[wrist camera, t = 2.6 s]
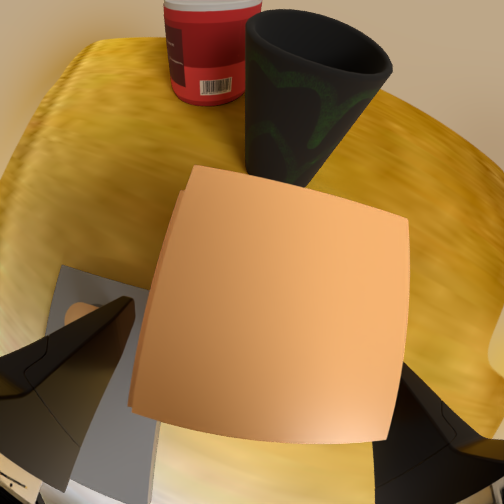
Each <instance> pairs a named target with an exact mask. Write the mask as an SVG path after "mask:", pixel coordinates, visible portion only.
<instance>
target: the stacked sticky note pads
mask: <svg viewBox="0 0 504 504" xmlns="http://www.w3.org/2000/svg"><path fill="white" fill-rule="evenodd" d="M409 283H410V252H409V228H408V219H407V218H404V217H401V216H398V215H395V214H392V213H389V212H386V211H383V210H380V209H377V208H373V207H370V206H367V205H364V204H360V203H357V202H354V201H350V200H347V199H344V198H340V197H336V196H333V195H329V194H326V193H322V192H318V191H314V190H311V189H307V188H303V187H299V186H295V185H291V184H287V183H282V182H278V181H274V180H270V179H265V178H261V177H256V176H251V175H247V174H242V173H237V172H232V171H227V170H221V169H216V168H211V167H205V166H199V165H194V167H193V169H192V172H191V175H190V178H189V180H188V183H187V186H186V189H185V191H184V190H180V193H179V195H178V198H177V201H176V204H175V207H174V210H173V213H172V216H171V219H170V222H169V225H168V229H167V232H166V235H165V238H164V241H163V245H162V248H161V252H160V255H159V258H158V262H157V266H156V269H155V273H154V277H153V280H152V284H151V288H150V292H149V296H148V300H147V304H146V308H145V312H144V317H143V321H142V326H141V330H140V335H139V340H138V345H137V350H136V355H135V360H134V366H133V372H132V378H131V384H130V390H129V397H128V404H127V406H128V407H131V408H132V413H135V414H138V415H141V416H144V417H147V418H150V419H153V420H157V421H160V422H164V423H167V424H171V425H175V426H179V427H183V428H187V429H191V430H196V431H201V432H205V433H210V434H216V435H221V436H227V437H234V438H241V439H248V440H257V441H267V442H279V443H297V444H340V443H358V442H370V441H380V440H386V438H387V435H388V431H389V428H390V424H391V420H392V416H393V411H394V407H395V403H396V398H397V393H398V388H399V383H400V377H401V371H402V364H403V358H404V350H405V342H406V332H407V321H408V307H409Z"/></svg>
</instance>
